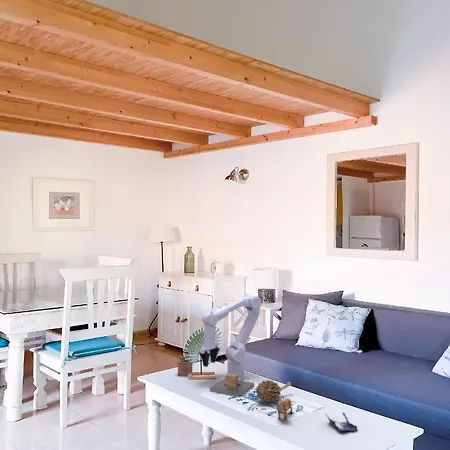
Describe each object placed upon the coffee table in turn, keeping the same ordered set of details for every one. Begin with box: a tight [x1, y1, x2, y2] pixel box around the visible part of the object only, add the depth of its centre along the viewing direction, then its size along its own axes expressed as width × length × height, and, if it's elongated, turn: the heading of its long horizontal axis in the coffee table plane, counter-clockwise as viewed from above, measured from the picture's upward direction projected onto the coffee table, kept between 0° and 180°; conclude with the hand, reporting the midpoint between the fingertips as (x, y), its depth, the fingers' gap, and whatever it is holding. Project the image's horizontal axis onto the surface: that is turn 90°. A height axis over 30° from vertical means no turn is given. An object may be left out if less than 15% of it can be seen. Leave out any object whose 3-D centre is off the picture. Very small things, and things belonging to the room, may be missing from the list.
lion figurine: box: [276, 398, 294, 421], centre depth 203 cm, size 15×5×9 cm, turn 164°
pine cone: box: [254, 379, 292, 403], centre depth 222 cm, size 22×10×10 cm, turn 136°
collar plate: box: [209, 377, 255, 398], centre depth 236 cm, size 16×16×2 cm
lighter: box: [177, 356, 194, 378], centre depth 255 cm, size 8×3×10 cm, turn 84°
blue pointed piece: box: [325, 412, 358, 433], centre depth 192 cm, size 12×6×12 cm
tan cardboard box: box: [225, 372, 238, 388], centre depth 236 cm, size 3×5×7 cm, turn 63°
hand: (209, 364), depth 244 cm, fingers open, 7 cm apart
